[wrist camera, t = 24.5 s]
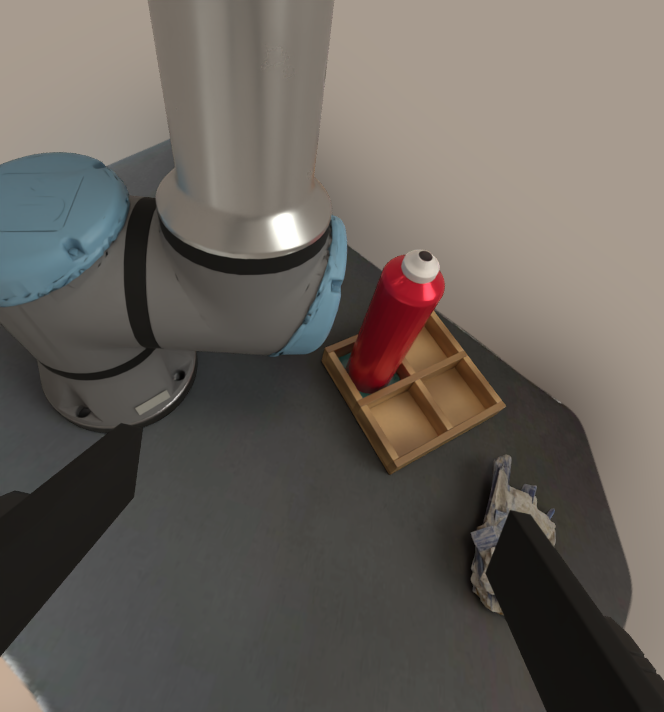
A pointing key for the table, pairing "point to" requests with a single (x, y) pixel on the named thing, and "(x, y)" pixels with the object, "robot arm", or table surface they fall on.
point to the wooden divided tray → (417, 396)
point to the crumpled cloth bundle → (494, 520)
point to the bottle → (395, 318)
